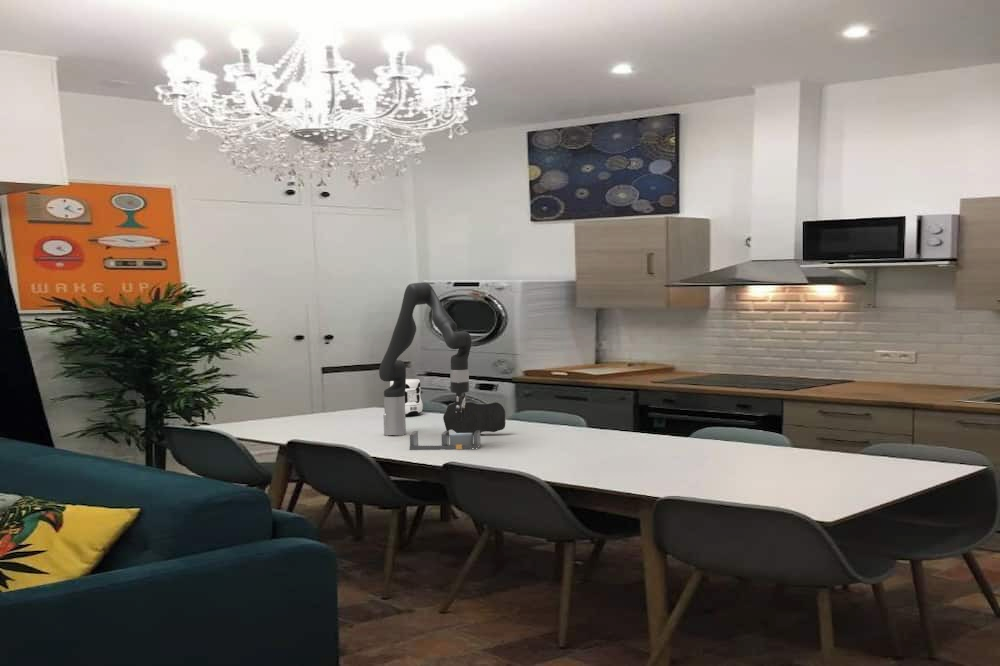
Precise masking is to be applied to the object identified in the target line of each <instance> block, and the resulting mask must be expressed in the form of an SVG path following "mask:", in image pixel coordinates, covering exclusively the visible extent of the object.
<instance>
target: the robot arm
mask: <svg viewBox="0 0 1000 666" xmlns="http://www.w3.org/2000/svg"><path fill="white" fill-rule="evenodd" d="M417 305H418V306H419V305H420V306H421V305H427V306H428V307H429V308H431V312H432V315H431V316H432V322H433V323H434V325H435V327H436V328H437V329H438V331H440V333H441V335H442V338H443V340H444V343H445V344H446V346H447V347H448V348H449V349H451V350H458V351H457V352H456V353H455V354H453V355H451V356H450V375H449V376H450V377H449V378H450V379H449V380H450V383H449V384H450V392H451V393H453V394H456V395H455V396H454V398H453V399H454V400H453V401H454V402H455V412H456V421H457V422H461V421H462V419H463V418H465V413H464V409H465V406H466V405H465V402H466V393H469V392H470V378H469V377H470V376H469V374H470V373H469V356H470V352H471V348H472V347H471V346H472V344H473V343H472V336H471V334H470V333H469V332H468V331H462V330H461V331H457V329H458V325H457V323H456V322H455V321H454V319H453V318H452V316H451V315H449V313H448V312H447V311H446V309H445V307H444V306H443V305H442V302H441V300H440V298H439V296H438V295H437V294H436V291H435V289H434V288H433V287H432V285H430V283H428V282H413V283H410V284H408V285H407V286H406V288H405V290H404V294H403V298H402V303H401V307H400V311H399V314H398V318H397V321H396V323H395V326H394V329H393V333H392V335H391V338H390V341H389V345H388V346H387V350H386V352H385V354H384V356H383V359H382V360H381V362H380V365H379V368H378V375H379V378H380V380H381V381H383V382H390V381H394V382H393V385H392V386H391V387H390V386H389V387H388V388H385V389H384V390H383V401H384V402H383V404H384V406H383V407H384V413H383V435H384V436H388V435H399V436H404V435H403V434H405V435H407V431H406V430H407V429H406V428H407V426H406V425H407V423H406V419H407V418H406V416H405V389H406V379H407V370H406V369H407V368H406V364H405V362H404V361H403V360H402V359H401V360H400V359H398V358H399V357H400V356H401V355H402V354H403V353H404V352H405V351H406V350H407V349H409V347H411V345H412V343H413V341H414V338H415V335H416V332H417V326H416V321H415V319H414V315H413V314H414V310H415V308H416V306H417ZM457 408H458V409H457Z"/></svg>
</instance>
